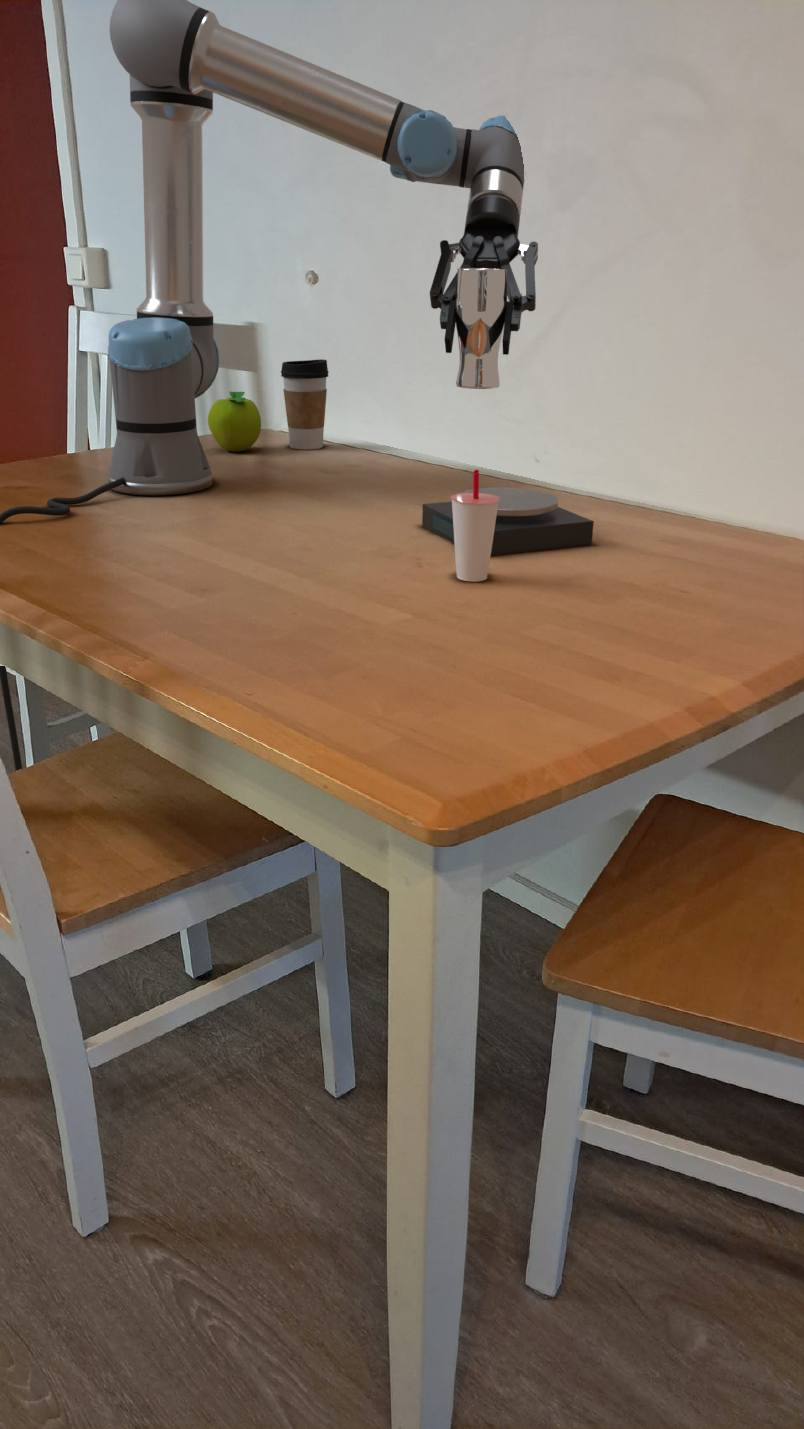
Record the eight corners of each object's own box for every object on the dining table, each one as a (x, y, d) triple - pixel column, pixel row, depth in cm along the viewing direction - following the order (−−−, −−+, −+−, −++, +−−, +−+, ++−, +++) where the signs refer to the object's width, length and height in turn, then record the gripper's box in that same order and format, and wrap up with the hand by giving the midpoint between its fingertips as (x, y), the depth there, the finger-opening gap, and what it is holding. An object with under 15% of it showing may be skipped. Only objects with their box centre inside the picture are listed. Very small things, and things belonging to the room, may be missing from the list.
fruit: (263, 445, 194) (260, 388, 189) (260, 455, 185) (258, 395, 181) (212, 445, 193) (208, 388, 189) (207, 455, 184) (203, 395, 180)
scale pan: (484, 520, 127) (485, 513, 127) (437, 497, 138) (438, 491, 138) (577, 511, 132) (578, 504, 132) (525, 490, 143) (525, 484, 143)
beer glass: (510, 385, 148) (516, 268, 142) (490, 390, 143) (495, 269, 137) (465, 381, 151) (469, 267, 145) (443, 387, 146) (447, 268, 140)
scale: (475, 557, 127) (476, 532, 126) (419, 526, 140) (419, 504, 139) (591, 544, 133) (594, 521, 132) (527, 516, 146) (528, 494, 145)
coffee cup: (327, 451, 189) (326, 363, 183) (280, 450, 190) (277, 362, 183) (331, 443, 197) (330, 358, 191) (286, 442, 197) (283, 357, 191)
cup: (470, 587, 116) (474, 476, 111) (438, 575, 120) (441, 468, 115) (505, 578, 119) (511, 470, 114) (473, 567, 123) (478, 462, 118)
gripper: (564, 236, 152) (551, 367, 144) (425, 234, 155) (405, 363, 147) (565, 193, 145) (552, 329, 137) (421, 192, 148) (399, 325, 140)
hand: (476, 346), depth 142 cm, fingers closed on beer glass, 7 cm apart
